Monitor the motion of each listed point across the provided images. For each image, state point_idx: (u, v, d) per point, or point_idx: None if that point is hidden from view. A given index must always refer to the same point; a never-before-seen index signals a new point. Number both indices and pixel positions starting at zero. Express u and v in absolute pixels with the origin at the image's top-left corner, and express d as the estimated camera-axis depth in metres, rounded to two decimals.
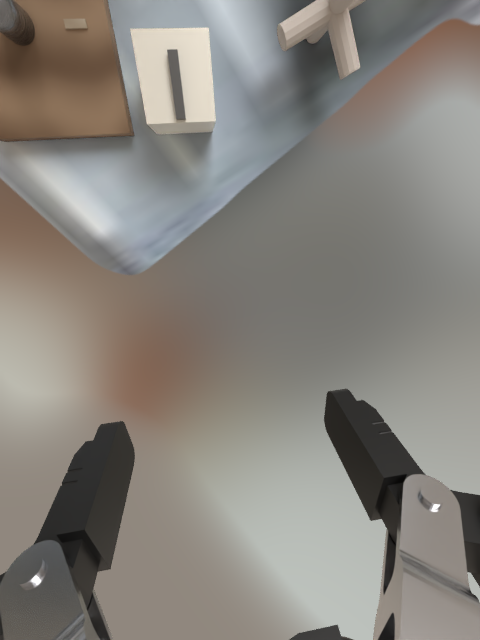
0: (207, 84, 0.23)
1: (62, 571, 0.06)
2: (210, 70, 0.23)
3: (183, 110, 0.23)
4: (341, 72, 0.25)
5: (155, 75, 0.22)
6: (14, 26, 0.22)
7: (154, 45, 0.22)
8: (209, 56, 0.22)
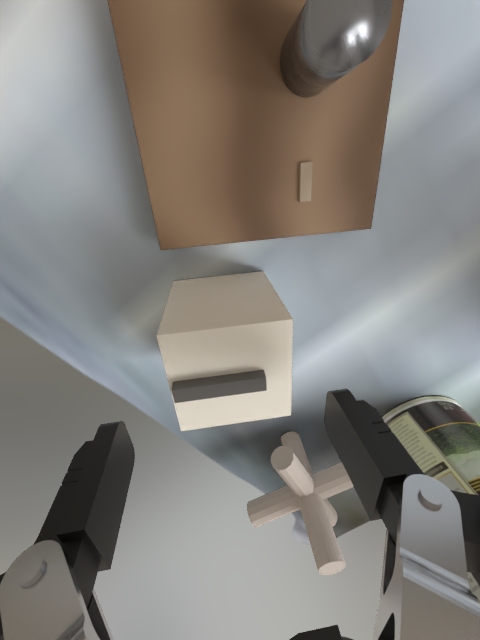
0: (227, 418, 0.15)
1: (62, 571, 0.06)
2: (244, 420, 0.15)
3: (186, 400, 0.13)
4: (252, 511, 0.22)
5: (233, 352, 0.13)
6: (305, 64, 0.10)
7: (272, 352, 0.13)
8: (260, 418, 0.15)
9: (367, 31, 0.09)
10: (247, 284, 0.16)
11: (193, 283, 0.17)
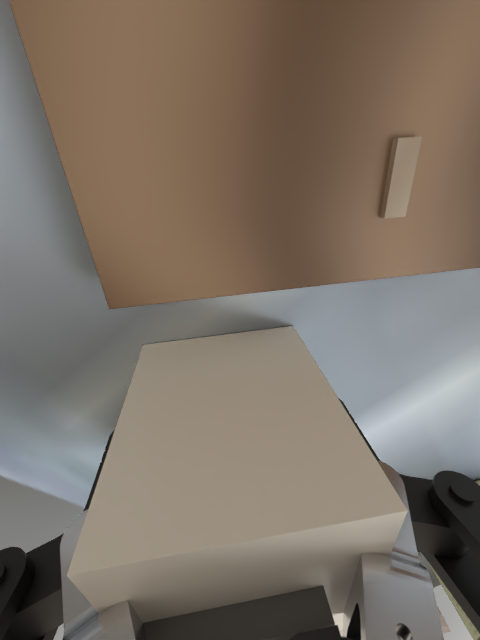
0: None
1: None
2: None
3: None
4: None
5: (261, 572, 0.05)
6: None
7: (346, 562, 0.06)
8: None
9: None
10: (272, 362, 0.09)
11: (177, 354, 0.10)
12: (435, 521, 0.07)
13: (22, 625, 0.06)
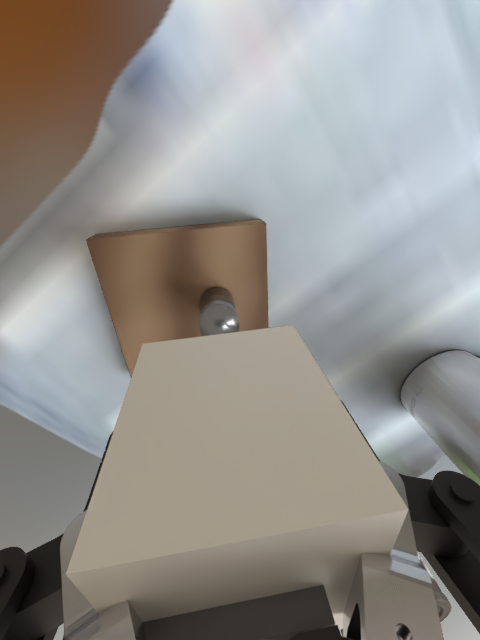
0: None
1: None
2: None
3: None
4: None
5: (261, 572, 0.05)
6: None
7: (347, 561, 0.06)
8: None
9: (229, 332, 0.18)
10: (272, 360, 0.09)
11: (177, 353, 0.10)
12: (435, 521, 0.07)
13: (22, 625, 0.06)
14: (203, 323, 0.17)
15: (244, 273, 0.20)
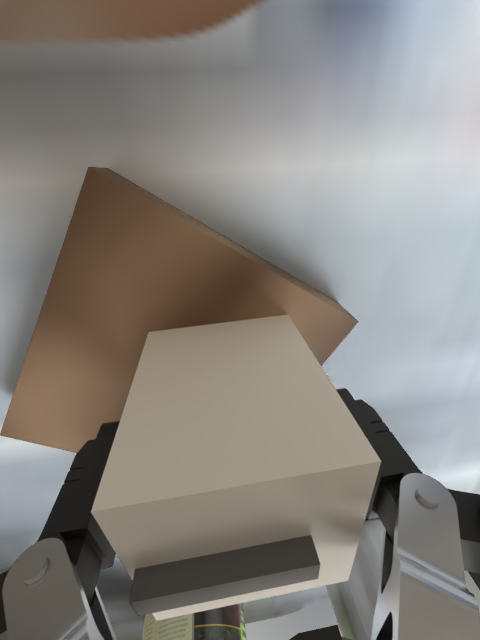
0: (239, 597, 0.08)
1: (65, 568, 0.06)
2: (269, 595, 0.08)
3: (160, 609, 0.06)
4: None
5: (255, 518, 0.06)
6: None
7: (331, 511, 0.07)
8: (296, 590, 0.09)
9: None
10: (268, 345, 0.10)
11: (180, 339, 0.11)
12: None
13: None
14: None
15: None
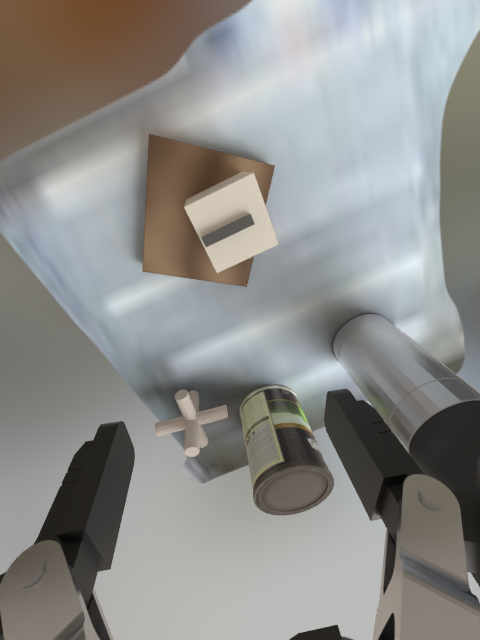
0: (241, 256, 0.24)
1: (62, 571, 0.06)
2: (251, 255, 0.24)
3: (211, 243, 0.23)
4: (158, 426, 0.37)
5: (228, 206, 0.22)
6: None
7: (250, 199, 0.22)
8: (260, 251, 0.24)
9: None
10: (230, 178, 0.25)
11: (199, 193, 0.27)
12: None
13: None
14: None
15: None
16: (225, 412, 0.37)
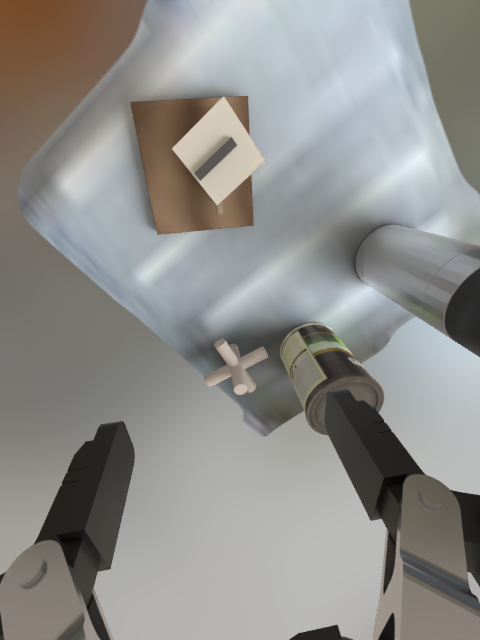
0: (234, 182, 0.26)
1: (62, 571, 0.06)
2: (243, 179, 0.26)
3: (203, 175, 0.25)
4: (207, 377, 0.41)
5: (209, 136, 0.24)
6: None
7: (227, 123, 0.24)
8: (250, 172, 0.26)
9: None
10: None
11: None
12: None
13: None
14: None
15: None
16: (264, 352, 0.40)
